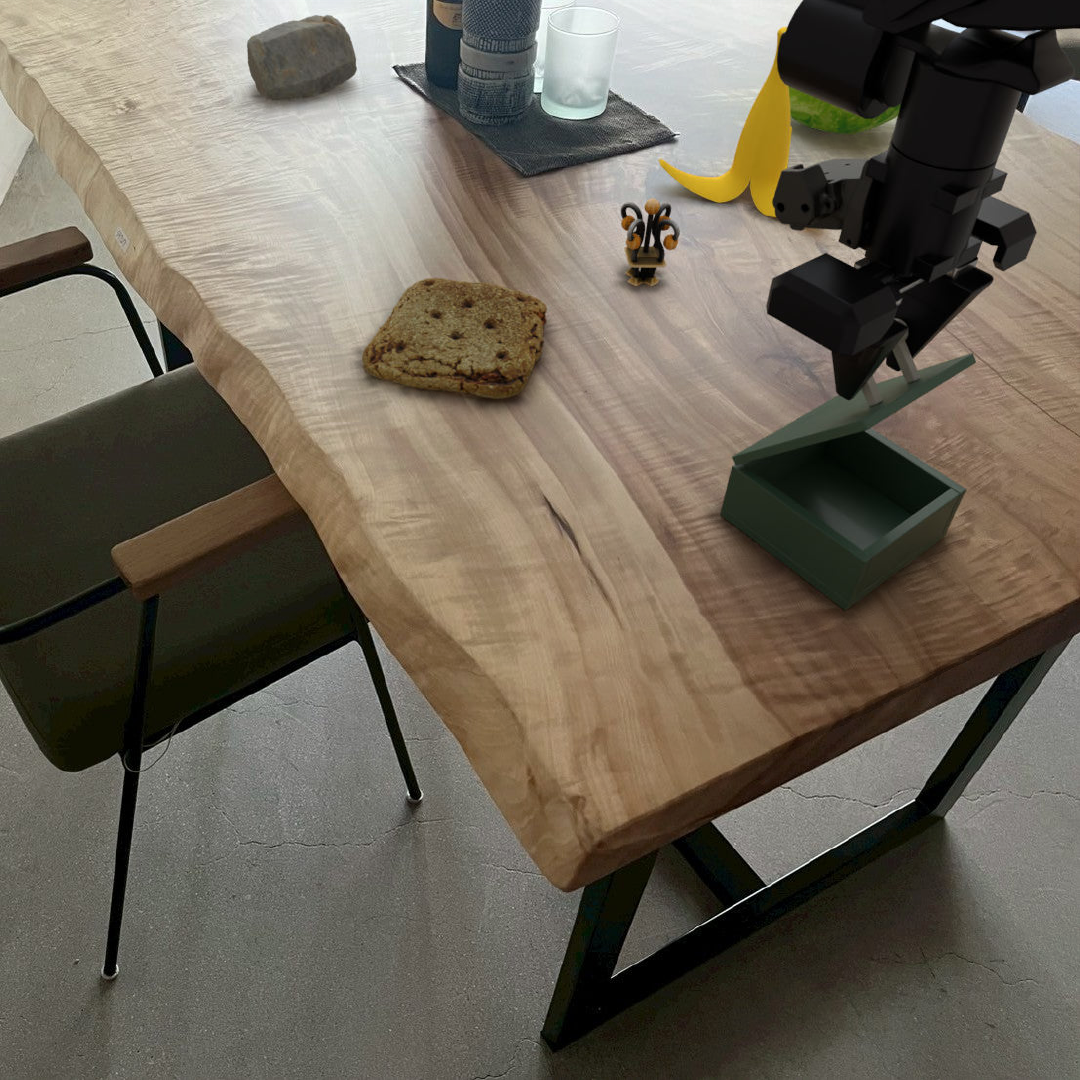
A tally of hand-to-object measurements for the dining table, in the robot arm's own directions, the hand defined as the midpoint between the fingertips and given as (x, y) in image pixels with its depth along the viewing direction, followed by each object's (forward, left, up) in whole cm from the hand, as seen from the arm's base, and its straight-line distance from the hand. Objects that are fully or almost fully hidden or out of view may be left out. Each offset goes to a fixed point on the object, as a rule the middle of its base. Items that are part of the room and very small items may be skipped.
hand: (869, 381), depth 68 cm
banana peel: (-2, -48, -13) cm, 50 cm away
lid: (0, 0, -3) cm, 3 cm away
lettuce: (-12, -69, -13) cm, 71 cm away
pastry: (+28, -18, -13) cm, 36 cm away
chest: (-1, +1, -13) cm, 13 cm away
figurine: (+12, -31, -13) cm, 36 cm away
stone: (+51, -68, -13) cm, 86 cm away
